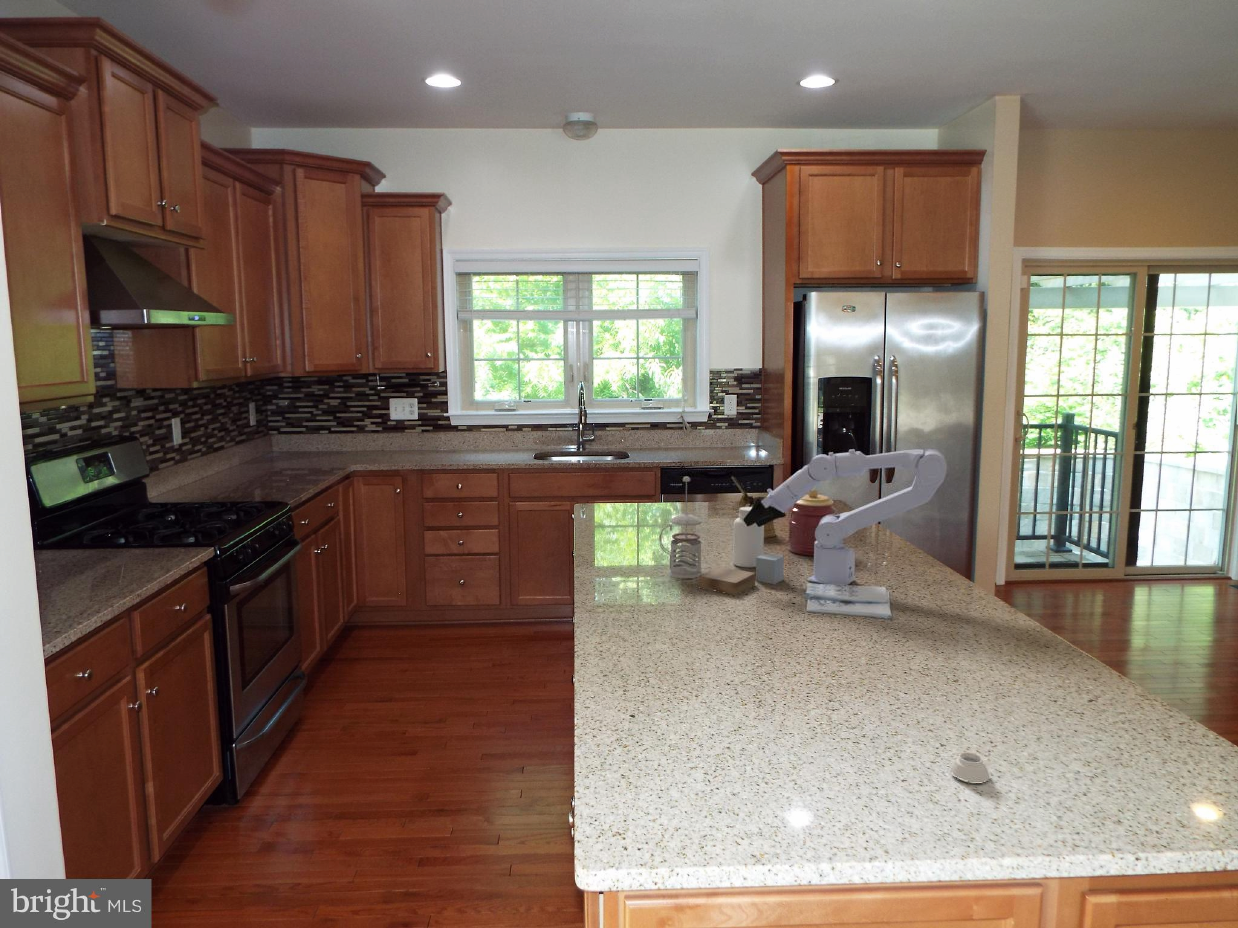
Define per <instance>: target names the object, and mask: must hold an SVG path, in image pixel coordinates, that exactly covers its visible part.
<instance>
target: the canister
mask: <svg viewBox="0 0 1238 928" xmlns="http://www.w3.org/2000/svg"><path fill="white" fill-rule="evenodd" d="M834 503H835V502H834V501H833V499H831V498H830V497H829V496H827V495H825V494H824V495H823V494H819V492H818V490H817V489H816V488H814V489H813V490H811V491H810V492H809V493H807V494H806V495H805V496H804V497H802V498H801V499H800V500H799V501H797V502H796V503H795V504H794V505H792V506H791V507H790V508H789V509H788V511H789V513H790V517H789V518H788V538H787V547H788V550H789V551H790V552H792V553H794V554H797V555H803V556H811V557H814V545H815V541H817V540H816V538H815V531H816V528H817V527H818V525H819V522H820V520H821V519H822V518H823V517H825V516H827V515H836V513H837V509H836V508H835V507H834V506H833V504H834Z"/></svg>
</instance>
